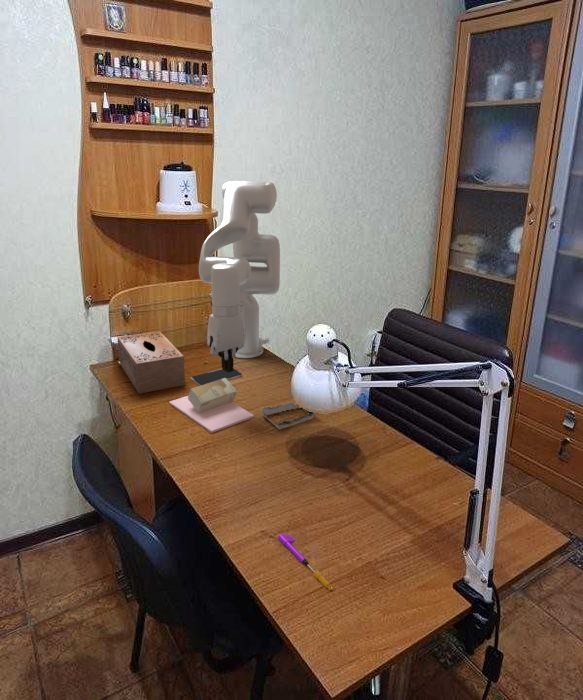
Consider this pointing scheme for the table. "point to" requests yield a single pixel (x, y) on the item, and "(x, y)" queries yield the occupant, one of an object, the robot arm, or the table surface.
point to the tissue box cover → (151, 361)
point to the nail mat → (213, 414)
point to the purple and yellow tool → (302, 558)
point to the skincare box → (212, 395)
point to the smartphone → (215, 376)
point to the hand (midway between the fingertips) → (227, 370)
